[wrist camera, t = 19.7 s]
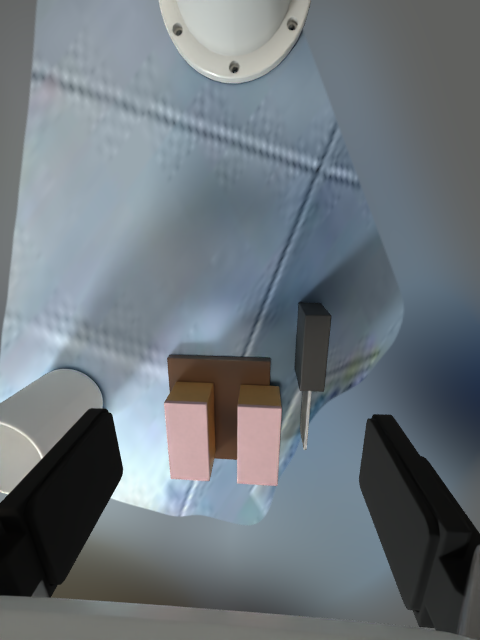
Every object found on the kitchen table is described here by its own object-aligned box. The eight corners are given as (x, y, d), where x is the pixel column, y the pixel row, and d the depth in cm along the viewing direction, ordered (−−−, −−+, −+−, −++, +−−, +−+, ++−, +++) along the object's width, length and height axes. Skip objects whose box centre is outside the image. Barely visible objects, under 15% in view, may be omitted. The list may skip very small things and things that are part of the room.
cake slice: (240, 384, 33) (237, 406, 29) (279, 385, 33) (281, 408, 29) (240, 453, 36) (237, 483, 32) (275, 456, 36) (277, 486, 32)
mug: (59, 446, 39) (-12, 521, 29) (32, 368, 36) (-59, 421, 26) (118, 444, 39) (66, 521, 28) (96, 364, 35) (28, 418, 25)
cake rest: (176, 381, 34) (163, 402, 30) (213, 382, 34) (206, 404, 29) (181, 450, 37) (170, 478, 32) (215, 452, 36) (209, 481, 32)
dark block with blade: (298, 302, 31) (305, 314, 26) (320, 302, 31) (331, 315, 26) (290, 426, 36) (295, 455, 31) (310, 427, 36) (317, 457, 31)
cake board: (169, 354, 34) (167, 358, 33) (270, 357, 33) (270, 361, 32) (177, 450, 38) (174, 456, 37) (266, 455, 37) (267, 461, 36)
